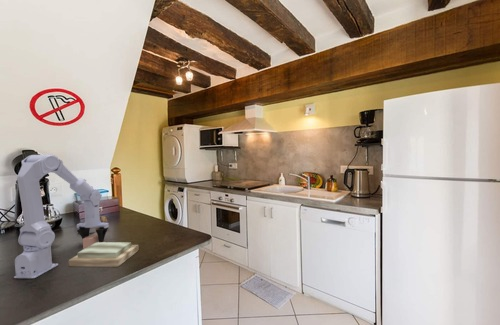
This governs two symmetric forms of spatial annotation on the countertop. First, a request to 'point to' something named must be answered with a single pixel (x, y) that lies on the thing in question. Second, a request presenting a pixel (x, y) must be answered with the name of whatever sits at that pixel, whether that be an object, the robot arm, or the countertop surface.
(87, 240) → the terracotta brick
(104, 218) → the lion figurine
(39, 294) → the countertop surface
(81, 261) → the tower base
